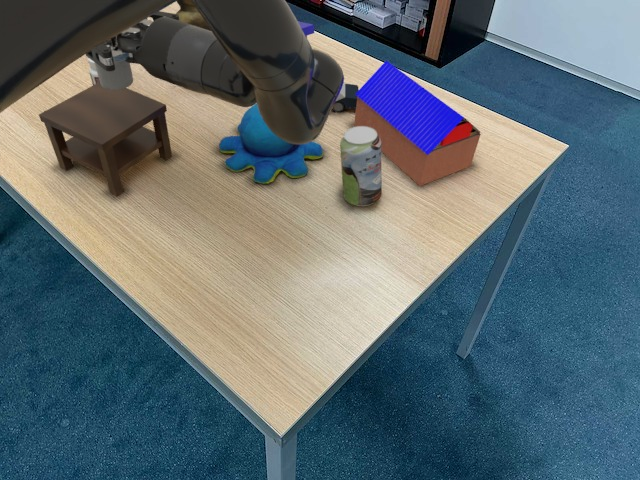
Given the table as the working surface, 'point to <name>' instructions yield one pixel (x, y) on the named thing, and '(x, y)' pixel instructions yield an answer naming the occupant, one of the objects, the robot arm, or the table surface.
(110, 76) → the planter
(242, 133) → the plush toy
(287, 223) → the table surface
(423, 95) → the house
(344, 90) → the toy car
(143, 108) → the plant stand
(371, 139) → the beverage can
